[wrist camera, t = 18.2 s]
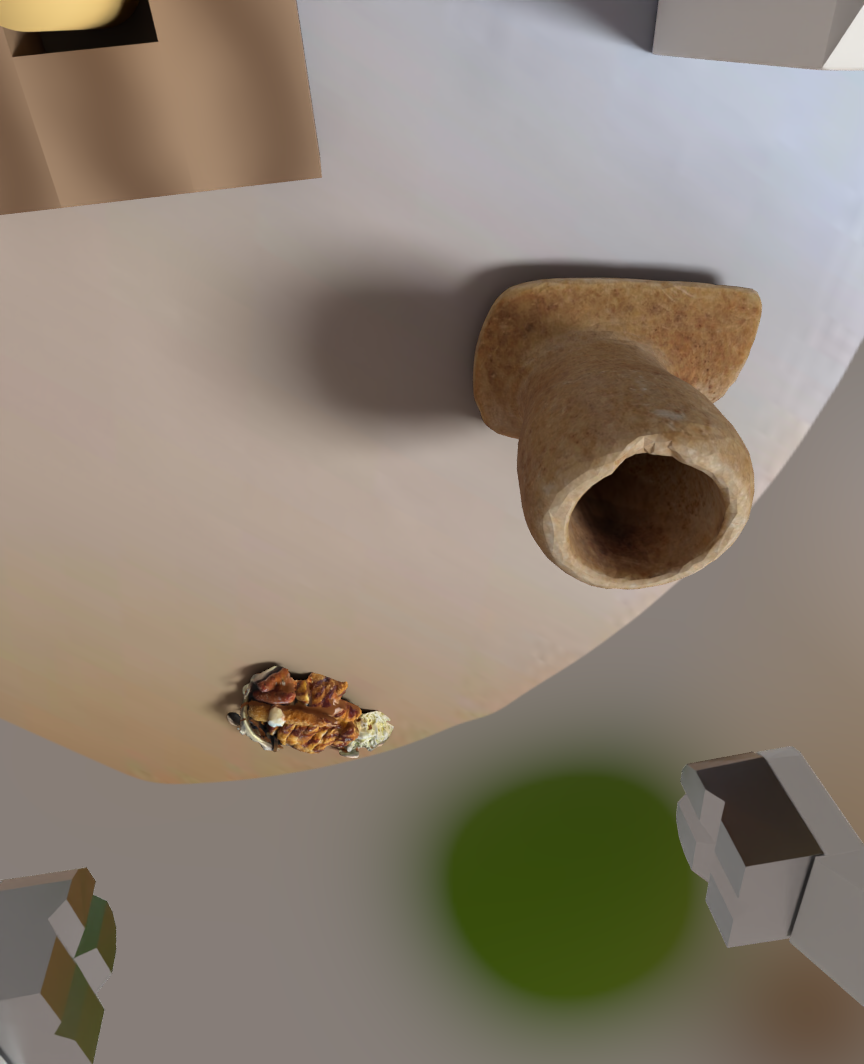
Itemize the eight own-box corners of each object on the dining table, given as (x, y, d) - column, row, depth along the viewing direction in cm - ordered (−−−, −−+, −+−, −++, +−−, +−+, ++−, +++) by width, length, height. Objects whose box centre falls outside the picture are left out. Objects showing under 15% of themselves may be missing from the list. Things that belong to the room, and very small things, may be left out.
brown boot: (456, 458, 48) (508, 612, 35) (482, 258, 41) (557, 360, 29) (687, 465, 50) (812, 611, 38) (745, 278, 44) (919, 379, 31)
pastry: (369, 757, 62) (372, 793, 59) (223, 717, 57) (218, 755, 54) (410, 697, 59) (415, 732, 56) (259, 651, 54) (256, 686, 51)
